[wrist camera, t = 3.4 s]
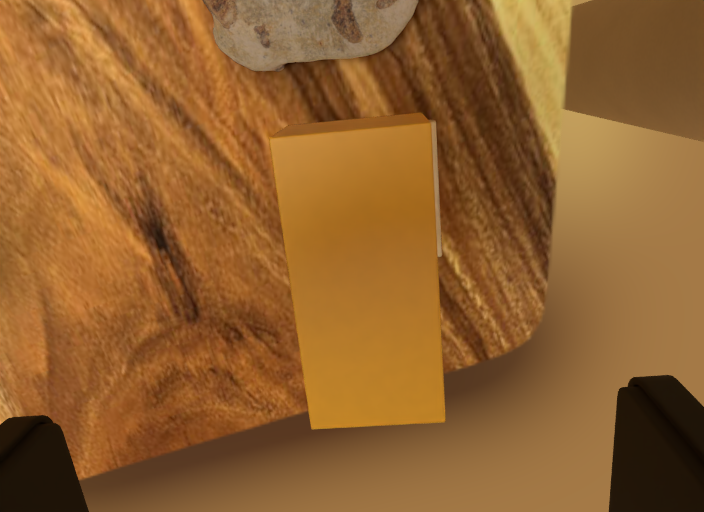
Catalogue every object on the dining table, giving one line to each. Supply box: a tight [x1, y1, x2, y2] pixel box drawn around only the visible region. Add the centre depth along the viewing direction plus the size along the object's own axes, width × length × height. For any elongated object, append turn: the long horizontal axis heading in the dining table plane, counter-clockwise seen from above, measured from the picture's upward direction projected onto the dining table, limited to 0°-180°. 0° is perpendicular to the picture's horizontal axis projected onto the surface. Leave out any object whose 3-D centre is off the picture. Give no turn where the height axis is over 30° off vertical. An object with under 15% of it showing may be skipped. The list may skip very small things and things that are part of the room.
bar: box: [269, 113, 446, 429], centre depth 17 cm, size 4×10×3 cm, turn 6°
